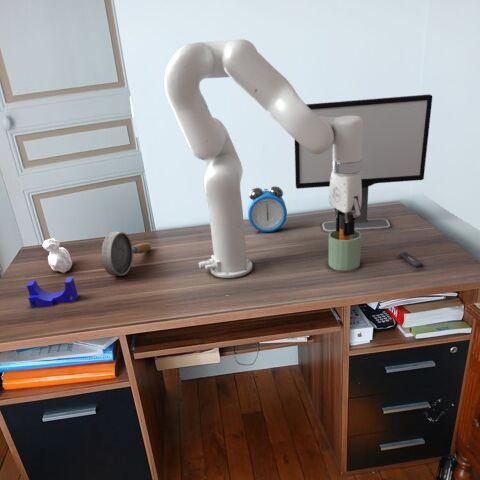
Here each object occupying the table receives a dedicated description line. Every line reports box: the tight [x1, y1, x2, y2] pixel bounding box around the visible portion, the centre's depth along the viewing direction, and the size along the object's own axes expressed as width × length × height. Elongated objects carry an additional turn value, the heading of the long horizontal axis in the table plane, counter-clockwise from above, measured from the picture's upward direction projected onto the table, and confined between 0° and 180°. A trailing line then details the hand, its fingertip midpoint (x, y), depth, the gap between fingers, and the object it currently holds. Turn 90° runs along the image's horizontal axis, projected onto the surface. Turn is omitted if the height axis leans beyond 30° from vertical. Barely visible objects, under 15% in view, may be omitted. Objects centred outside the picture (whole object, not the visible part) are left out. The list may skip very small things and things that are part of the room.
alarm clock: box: [247, 185, 288, 234], centre depth 172 cm, size 13×6×15 cm, turn 91°
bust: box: [41, 237, 73, 274], centre depth 159 cm, size 12×8×11 cm
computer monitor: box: [294, 93, 433, 233], centre depth 163 cm, size 41×8×40 cm, turn 88°
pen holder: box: [327, 230, 362, 271], centre depth 145 cm, size 9×9×10 cm
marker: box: [339, 214, 350, 240], centre depth 143 cm, size 3×3×14 cm
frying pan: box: [100, 231, 152, 277], centre depth 157 cm, size 13×3×25 cm
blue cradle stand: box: [26, 276, 79, 308], centre depth 140 cm, size 12×4×6 cm, turn 92°
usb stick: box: [398, 251, 424, 269], centre depth 144 cm, size 10×3×2 cm, turn 14°
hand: (344, 232), depth 142 cm, fingers closed on marker, 3 cm apart
